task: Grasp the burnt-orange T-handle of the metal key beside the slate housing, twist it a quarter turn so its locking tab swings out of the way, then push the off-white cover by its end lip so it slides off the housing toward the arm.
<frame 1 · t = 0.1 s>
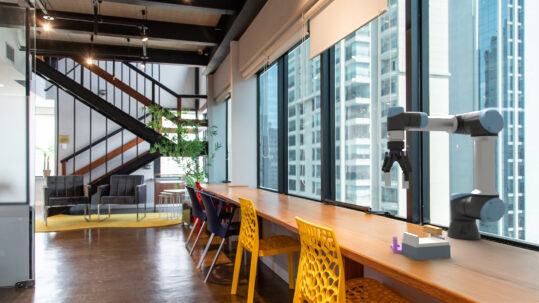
hand: (396, 187, 159), 28 cm above the counter, fingers open, 13 cm apart
cover: (425, 238, 148), point 7 cm above the counter, slide at 0.0 cm
bracket: (398, 250, 158), on the counter
housing: (425, 255, 147), on the counter
key: (434, 237, 158), point 5 cm above the counter, hinge at 0.0°
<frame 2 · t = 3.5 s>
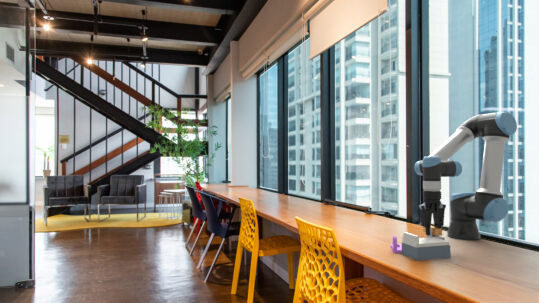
hand: (432, 242, 159), 3 cm above the counter, fingers closed on key, 3 cm apart
key: (434, 237, 158), point 5 cm above the counter, hinge at 0.1°, touching gripper
everything else where it was.
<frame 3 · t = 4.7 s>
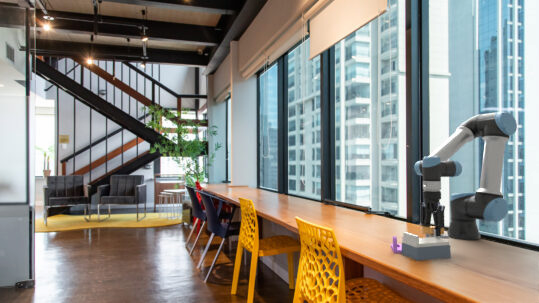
hand: (432, 241, 159), 3 cm above the counter, fingers open, 5 cm apart
key: (435, 237, 159), point 5 cm above the counter, hinge at 60.7°
everything else where it was.
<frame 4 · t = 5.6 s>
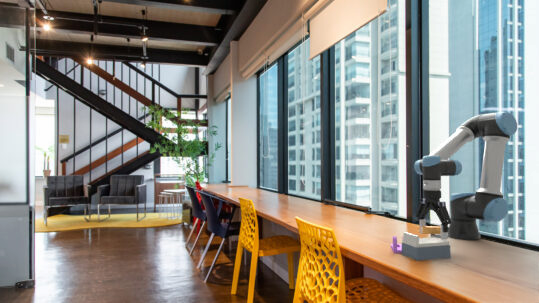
hand: (433, 236, 159), 6 cm above the counter, fingers open, 13 cm apart
key: (435, 237, 159), point 5 cm above the counter, hinge at 65.1°
everything else where it was.
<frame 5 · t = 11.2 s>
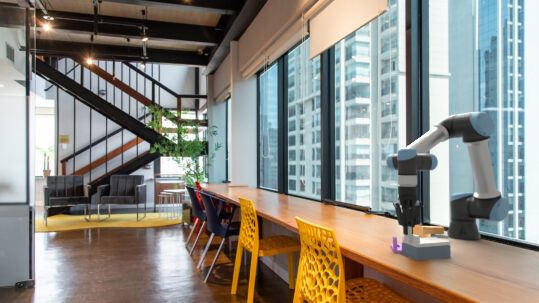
hand: (408, 242, 146), 6 cm above the counter, fingers closed
cover: (426, 238, 148), point 7 cm above the counter, slide at 0.4 cm, touching gripper
key: (435, 237, 159), point 5 cm above the counter, hinge at 65.4°
everything else where it was.
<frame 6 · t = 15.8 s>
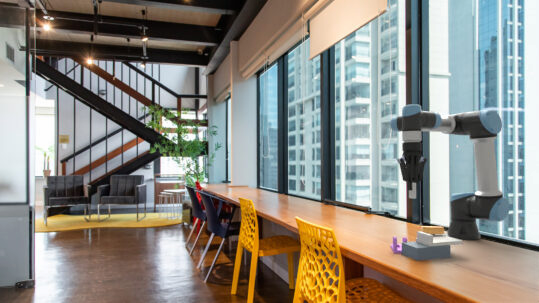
hand: (412, 198, 147), 24 cm above the counter, fingers closed
cover: (438, 237, 149), point 7 cm above the counter, slide at 6.7 cm
everything else where it was.
at the end: key at +65° (first picture: +0°); cover slide at 6.7 cm; the gripper is holding nothing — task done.
